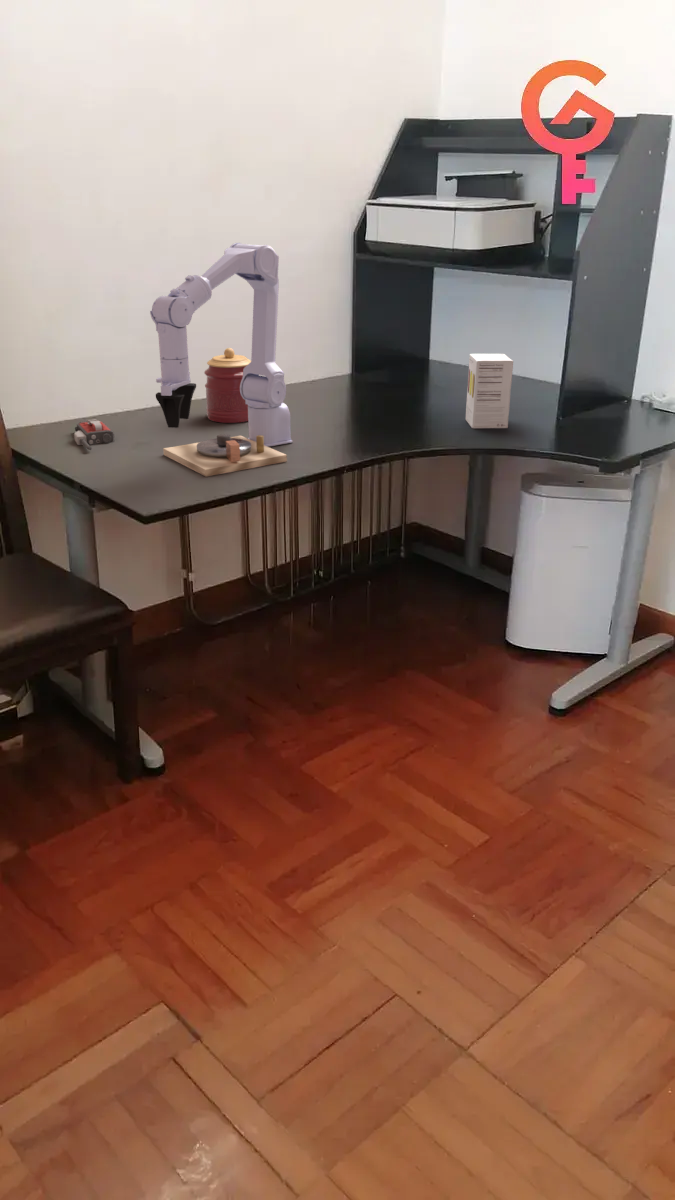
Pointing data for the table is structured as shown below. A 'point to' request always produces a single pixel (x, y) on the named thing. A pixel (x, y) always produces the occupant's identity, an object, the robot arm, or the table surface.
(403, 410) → the table surface
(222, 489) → the table surface
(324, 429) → the table surface
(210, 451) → the flange
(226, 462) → the base plate
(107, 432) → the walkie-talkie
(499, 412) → the supplement box
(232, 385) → the canister
